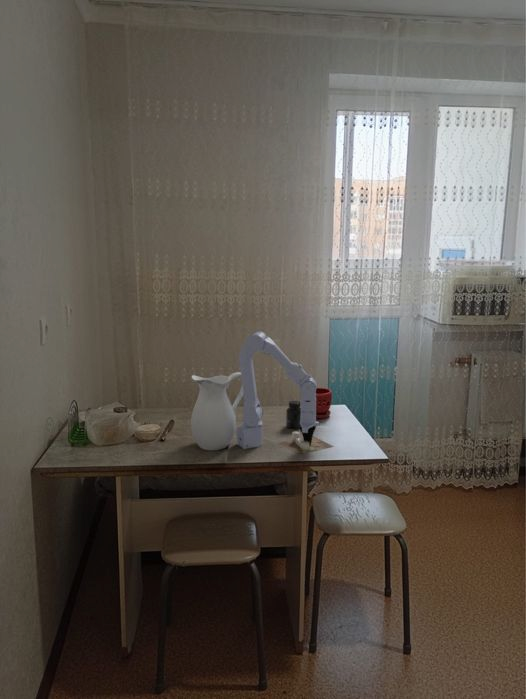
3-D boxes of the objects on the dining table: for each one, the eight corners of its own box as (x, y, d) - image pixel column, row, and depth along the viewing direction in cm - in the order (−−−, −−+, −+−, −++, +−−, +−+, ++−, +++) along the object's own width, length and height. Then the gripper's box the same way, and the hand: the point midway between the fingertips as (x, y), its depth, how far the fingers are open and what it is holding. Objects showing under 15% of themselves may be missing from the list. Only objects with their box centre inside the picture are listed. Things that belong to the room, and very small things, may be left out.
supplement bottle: (283, 430, 221) (283, 402, 219) (290, 426, 227) (290, 399, 225) (298, 433, 218) (298, 405, 216) (304, 428, 224) (305, 401, 222)
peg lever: (290, 440, 204) (290, 431, 204) (298, 439, 205) (298, 431, 205) (302, 451, 193) (302, 442, 193) (310, 450, 194) (310, 441, 194)
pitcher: (204, 456, 192) (202, 382, 187) (184, 443, 206) (182, 373, 201) (259, 444, 205) (259, 374, 200) (236, 432, 219) (236, 366, 214)
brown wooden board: (299, 457, 192) (299, 453, 191) (278, 445, 203) (278, 442, 203) (334, 449, 200) (334, 446, 199) (312, 438, 212) (312, 435, 211)
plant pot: (328, 411, 249) (329, 386, 247) (333, 419, 236) (334, 393, 234) (300, 411, 248) (301, 386, 246) (304, 420, 235) (305, 394, 233)
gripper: (316, 416, 188) (315, 453, 190) (321, 405, 202) (321, 439, 204) (296, 415, 190) (296, 451, 192) (303, 404, 204) (303, 438, 206)
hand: (307, 445), depth 198 cm, fingers closed
